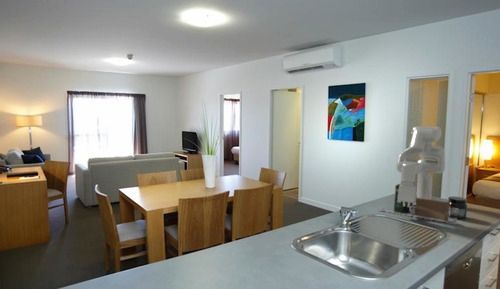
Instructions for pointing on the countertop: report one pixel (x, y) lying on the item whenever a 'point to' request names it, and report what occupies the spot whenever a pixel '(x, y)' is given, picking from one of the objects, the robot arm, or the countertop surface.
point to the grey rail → (417, 215)
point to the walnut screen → (431, 209)
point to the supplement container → (457, 207)
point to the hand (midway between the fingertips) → (406, 212)
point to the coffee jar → (397, 205)
